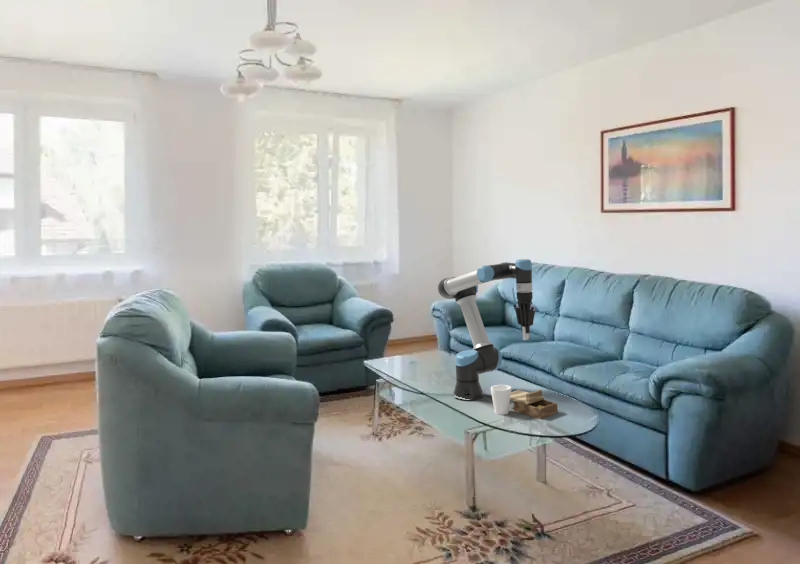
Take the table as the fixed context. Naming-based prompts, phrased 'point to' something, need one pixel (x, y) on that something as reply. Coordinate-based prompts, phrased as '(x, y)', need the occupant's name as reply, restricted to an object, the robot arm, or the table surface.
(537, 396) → the lid
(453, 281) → the robot arm
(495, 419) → the table surface
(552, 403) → the brown wooden box
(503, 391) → the foam cup
